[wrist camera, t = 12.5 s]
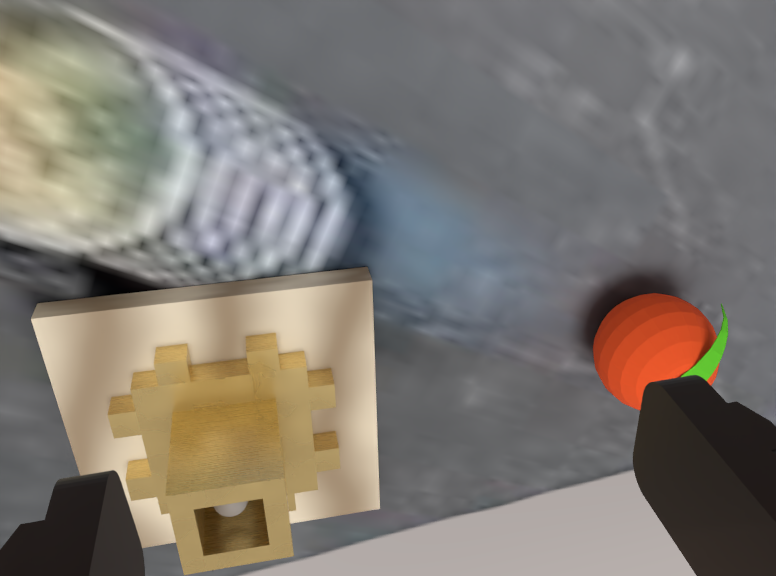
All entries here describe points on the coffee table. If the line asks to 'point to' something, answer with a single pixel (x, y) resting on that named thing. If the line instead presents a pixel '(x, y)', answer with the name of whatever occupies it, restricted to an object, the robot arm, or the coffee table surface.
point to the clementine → (655, 345)
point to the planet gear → (227, 447)
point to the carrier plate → (214, 344)
